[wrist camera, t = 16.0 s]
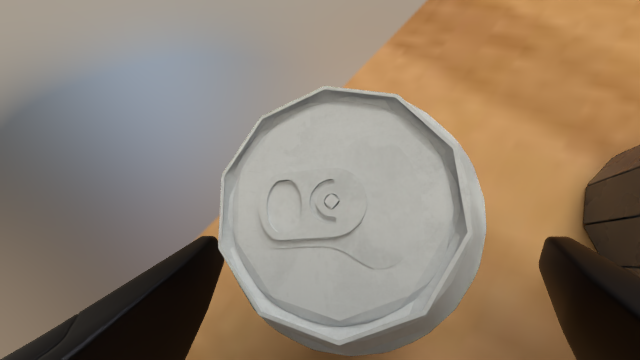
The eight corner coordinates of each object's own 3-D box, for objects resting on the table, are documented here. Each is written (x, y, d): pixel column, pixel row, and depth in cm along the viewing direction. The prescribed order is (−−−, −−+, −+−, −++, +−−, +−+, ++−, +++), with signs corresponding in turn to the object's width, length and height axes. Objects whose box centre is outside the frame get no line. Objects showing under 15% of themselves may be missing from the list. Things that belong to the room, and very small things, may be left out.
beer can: (428, 286, 15) (550, 391, 3) (334, 288, 16) (181, 373, 4) (416, 192, 16) (472, 35, 5) (330, 200, 17) (202, 88, 6)
